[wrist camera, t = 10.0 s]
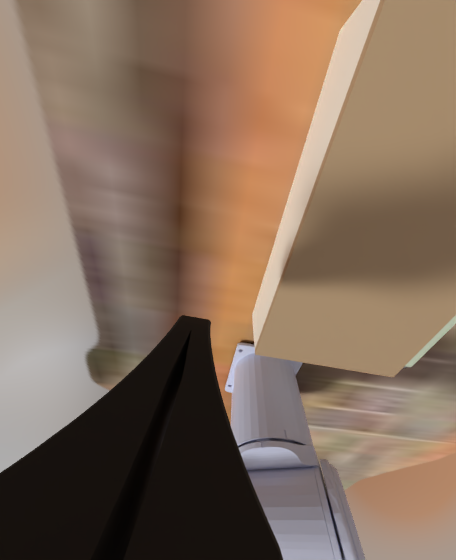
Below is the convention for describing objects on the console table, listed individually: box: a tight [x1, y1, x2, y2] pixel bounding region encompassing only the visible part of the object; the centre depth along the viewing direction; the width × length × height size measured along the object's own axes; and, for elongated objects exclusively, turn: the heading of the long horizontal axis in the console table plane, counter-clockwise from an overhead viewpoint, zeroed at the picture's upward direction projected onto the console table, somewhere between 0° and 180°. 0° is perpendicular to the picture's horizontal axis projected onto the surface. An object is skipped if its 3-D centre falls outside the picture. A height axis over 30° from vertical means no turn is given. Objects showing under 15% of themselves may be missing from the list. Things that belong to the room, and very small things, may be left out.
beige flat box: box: [252, 0, 456, 377], centre depth 14 cm, size 20×12×5 cm, turn 170°
